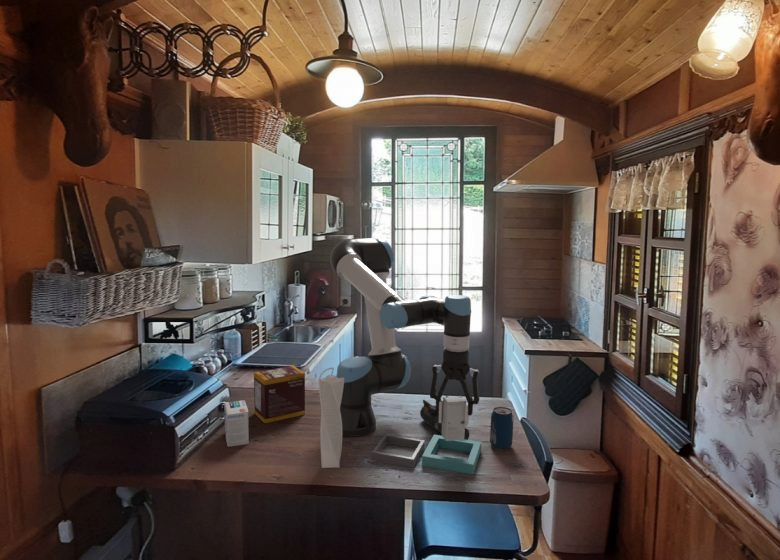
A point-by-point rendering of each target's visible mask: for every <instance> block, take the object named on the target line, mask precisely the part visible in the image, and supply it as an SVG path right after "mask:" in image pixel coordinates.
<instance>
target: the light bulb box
mask: <svg viewBox="0 0 780 560" xmlns="http://www.w3.org/2000/svg"><path fill="white" fill-rule="evenodd" d="M246 403H247V402H246V400H244V399H241V400H235V401H227V402H223V404H224V407H223V408H224V435H225V440H226V445H227V447H228V448H229V447H237V446H244V445H248V444H250V442H249V439H250V438H249V409H248V405H247V404H246Z"/></svg>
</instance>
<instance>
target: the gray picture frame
mask: <svg viewBox="0 0 780 560" xmlns="http://www.w3.org/2000/svg"><path fill="white" fill-rule="evenodd" d="M388 444H389V445H396V446H400V447H401V446H402V447H408V448H412V449H413V448H414V449H415V450H414V452H413V453H412V456H405V455H400V454H394V453H389V452H388V453H387V452H382V451H383V450H384V449H385V447H386V446H387V445H388ZM425 444H426V441H425V440H423V439H417V438H414V437H413V438H412V437H407V436H406V437H405V436H399V435H393V434H388V433H385V434H384V435H383V437H382V438H381V439H380V440H379V441H378V443H377V444H376V446H375V447H374V448H373V449H372V451H371V452H370V453H371V455H370V456H371V457H370V458H371V461H375V462H381V463H386V464H392V465H397V466H403V467H408V468H414V467H415V465H416V464H417V462H418V460H419V459H420V457H421V456H422V453H424V451H425V447H426V445H425Z"/></svg>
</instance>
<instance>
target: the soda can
mask: <svg viewBox="0 0 780 560" xmlns="http://www.w3.org/2000/svg"><path fill="white" fill-rule="evenodd" d="M489 431H490V432H489V433H490V434H489V443H490V445H491V447H492V448H493V449H495V450H497V451H508V450H510V448H511V447H512V445H513V437H514V414H513V410H512V409H511V408H508V407H506V406H505V407H504V406H496V407H494V408H493V410H492V412H491V415H490V430H489Z"/></svg>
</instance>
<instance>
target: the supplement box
mask: <svg viewBox="0 0 780 560" xmlns="http://www.w3.org/2000/svg"><path fill="white" fill-rule="evenodd" d="M253 395H254V397H253V398H254V400H253V401H254V414H255V415H256V416H257V417H258V418H259V420H261V422H262V423H264V424H269V423H273V422H277V421H282V420H287V419H291V418H296V417H299V416H304V415H306V373H305V372H304V371H302V370H301V369H299V368H298V367H296V366H295V365H288V366H284V367H277V368H271V369H265V370H261V371H260V370H259V371H255V372H253Z"/></svg>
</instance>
